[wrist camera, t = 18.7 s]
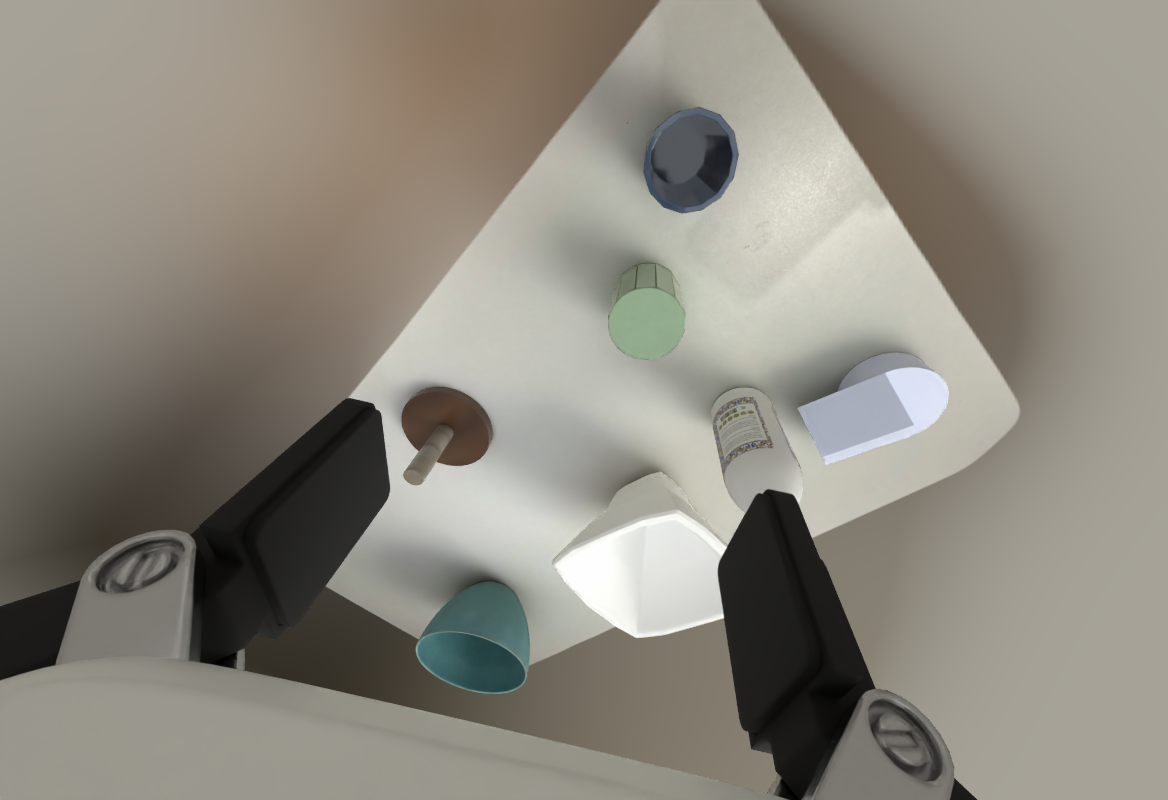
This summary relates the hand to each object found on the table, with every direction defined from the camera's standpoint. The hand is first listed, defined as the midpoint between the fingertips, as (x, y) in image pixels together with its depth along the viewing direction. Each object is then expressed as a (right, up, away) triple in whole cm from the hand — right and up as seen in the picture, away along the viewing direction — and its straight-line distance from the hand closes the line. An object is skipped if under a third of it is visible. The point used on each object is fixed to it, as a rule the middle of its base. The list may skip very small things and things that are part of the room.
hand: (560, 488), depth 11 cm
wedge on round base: (+32, +3, +37) cm, 49 cm away
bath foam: (+19, +1, +40) cm, 44 cm away
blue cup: (+9, +24, +27) cm, 37 cm away
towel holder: (-18, -1, +47) cm, 50 cm away
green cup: (+7, +13, +34) cm, 37 cm away
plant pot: (-16, -33, +67) cm, 77 cm away
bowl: (+10, -11, +49) cm, 51 cm away
